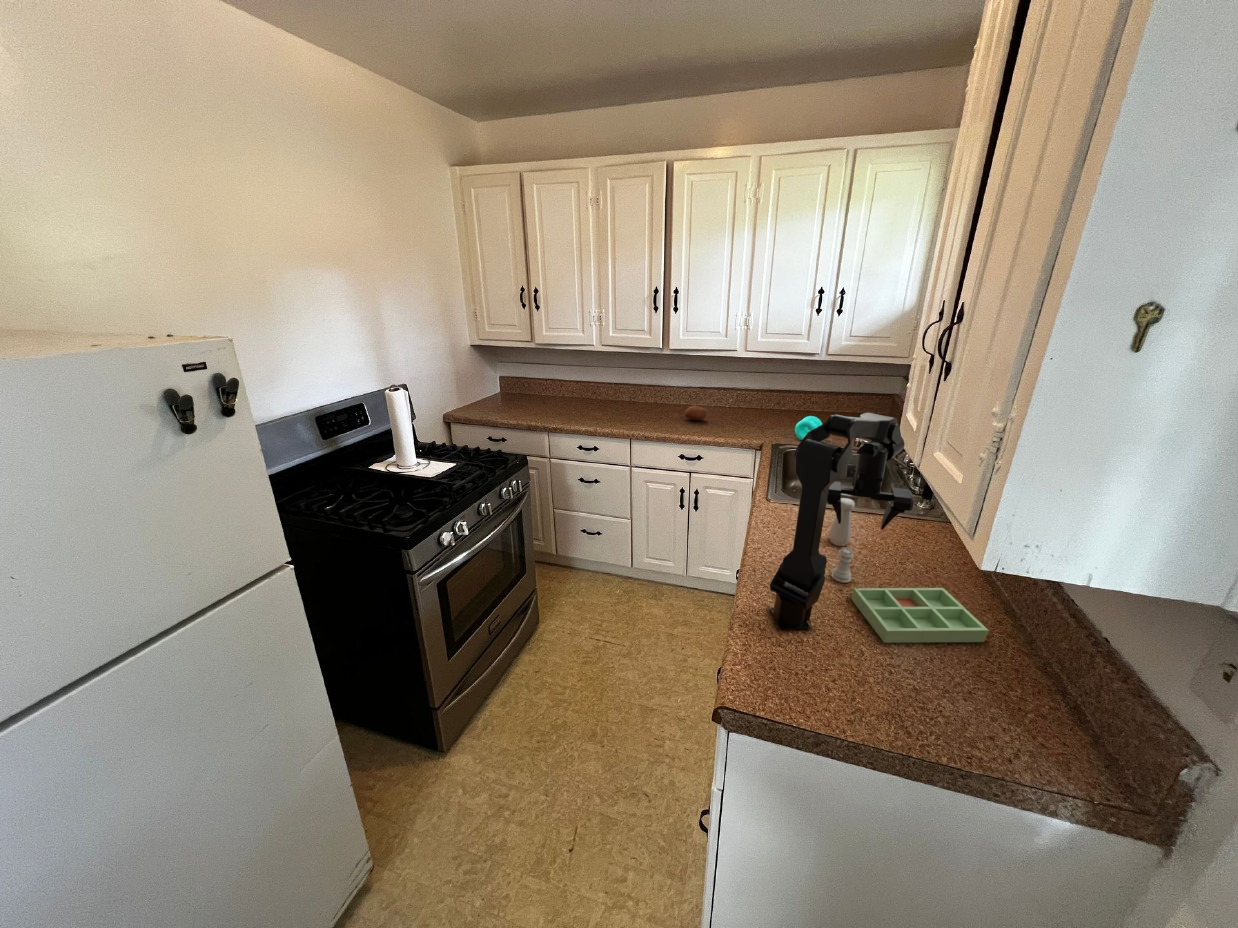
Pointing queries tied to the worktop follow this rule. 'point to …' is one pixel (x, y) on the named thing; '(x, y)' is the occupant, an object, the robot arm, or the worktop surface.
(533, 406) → the worktop surface
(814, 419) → the cyan rounded blob
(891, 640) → the grid
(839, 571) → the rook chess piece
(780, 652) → the worktop surface
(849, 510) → the salt shaker
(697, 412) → the potato
